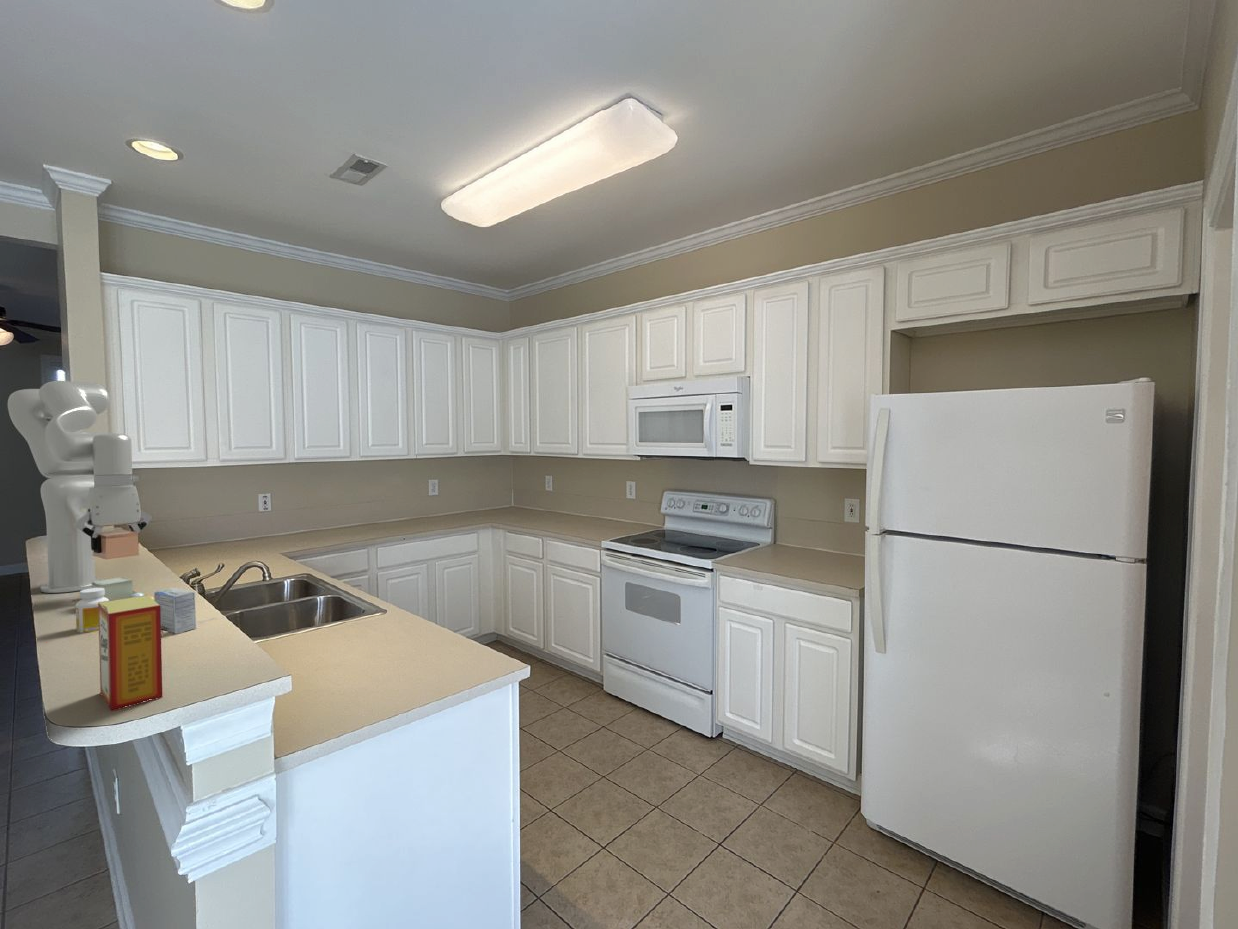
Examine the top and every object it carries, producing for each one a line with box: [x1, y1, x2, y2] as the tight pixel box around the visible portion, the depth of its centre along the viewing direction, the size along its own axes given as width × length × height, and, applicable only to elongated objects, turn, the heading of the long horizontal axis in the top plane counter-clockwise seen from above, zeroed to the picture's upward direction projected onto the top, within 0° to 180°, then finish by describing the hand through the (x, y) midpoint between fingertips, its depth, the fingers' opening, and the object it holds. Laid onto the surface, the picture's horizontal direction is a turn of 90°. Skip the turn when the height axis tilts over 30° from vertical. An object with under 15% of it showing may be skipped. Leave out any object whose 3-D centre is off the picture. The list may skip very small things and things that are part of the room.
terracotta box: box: [93, 529, 140, 560], centre depth 150 cm, size 9×7×6 cm
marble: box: [131, 592, 145, 597], centre depth 144 cm, size 3×3×3 cm
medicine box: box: [153, 587, 197, 635], centre depth 130 cm, size 8×4×9 cm, turn 65°
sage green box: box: [92, 576, 133, 601], centre depth 143 cm, size 6×6×6 cm
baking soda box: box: [98, 594, 163, 712], centre depth 97 cm, size 10×6×16 cm
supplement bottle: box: [75, 588, 109, 633], centre depth 126 cm, size 5×5×10 cm
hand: (115, 549), depth 150 cm, fingers closed on terracotta box, 6 cm apart
